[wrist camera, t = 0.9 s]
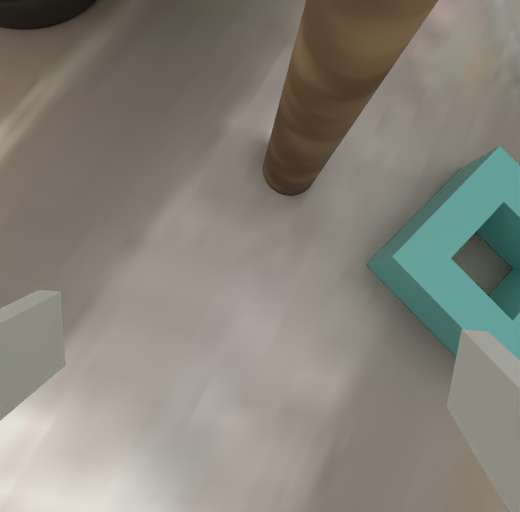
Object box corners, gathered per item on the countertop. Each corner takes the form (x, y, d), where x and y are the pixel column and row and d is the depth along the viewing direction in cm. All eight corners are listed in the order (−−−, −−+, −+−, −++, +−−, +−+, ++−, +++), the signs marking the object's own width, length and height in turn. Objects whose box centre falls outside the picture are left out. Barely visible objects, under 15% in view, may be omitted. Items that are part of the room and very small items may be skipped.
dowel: (251, 167, 32) (295, -64, 12) (289, 134, 32) (388, -137, 13) (289, 206, 32) (394, 35, 12) (326, 171, 32) (484, -45, 13)
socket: (365, 264, 31) (392, 256, 27) (459, 169, 33) (499, 145, 28) (470, 372, 31) (517, 384, 26) (559, 269, 33) (618, 263, 28)
